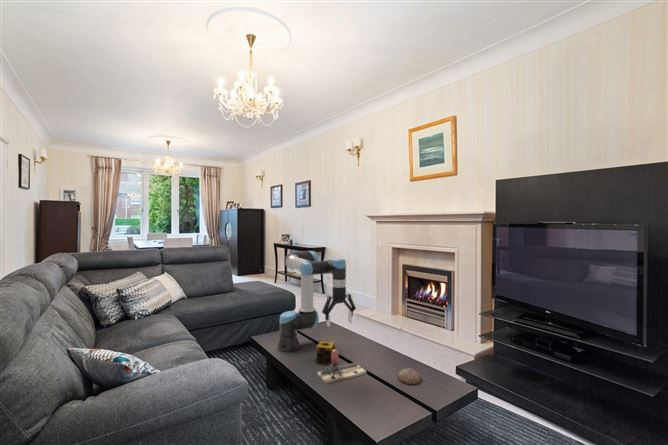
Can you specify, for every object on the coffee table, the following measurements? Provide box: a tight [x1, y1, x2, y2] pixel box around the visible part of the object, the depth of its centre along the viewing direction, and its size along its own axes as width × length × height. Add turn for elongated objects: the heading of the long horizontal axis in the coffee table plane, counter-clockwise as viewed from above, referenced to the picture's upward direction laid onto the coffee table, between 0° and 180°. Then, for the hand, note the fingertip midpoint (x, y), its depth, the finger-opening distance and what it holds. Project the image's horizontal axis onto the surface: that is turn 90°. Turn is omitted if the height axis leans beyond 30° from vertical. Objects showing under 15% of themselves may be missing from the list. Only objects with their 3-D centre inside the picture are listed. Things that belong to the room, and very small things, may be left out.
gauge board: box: [317, 364, 368, 385], centre depth 181 cm, size 12×25×1 cm, turn 117°
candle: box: [315, 340, 336, 365], centre depth 199 cm, size 10×10×10 cm
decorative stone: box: [397, 367, 421, 385], centre depth 175 cm, size 12×12×6 cm
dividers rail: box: [320, 362, 359, 378], centre depth 181 cm, size 9×23×3 cm, turn 117°
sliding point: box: [329, 348, 342, 376], centre depth 180 cm, size 10×4×11 cm, turn 27°
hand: (339, 324), depth 181 cm, fingers open, 13 cm apart
